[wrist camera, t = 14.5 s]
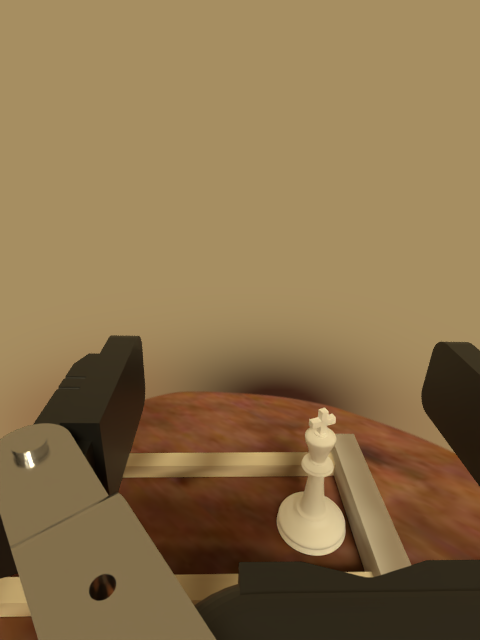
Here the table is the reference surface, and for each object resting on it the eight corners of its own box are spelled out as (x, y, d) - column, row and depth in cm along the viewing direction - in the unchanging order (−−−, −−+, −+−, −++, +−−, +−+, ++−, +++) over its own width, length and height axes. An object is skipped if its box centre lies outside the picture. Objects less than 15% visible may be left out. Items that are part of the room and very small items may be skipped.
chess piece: (265, 507, 30) (271, 397, 26) (321, 489, 32) (334, 383, 28) (297, 566, 26) (309, 444, 22) (359, 542, 27) (381, 425, 23)
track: (-27, 631, 22) (-38, 603, 21) (66, 458, 34) (61, 435, 33) (416, 623, 23) (424, 595, 22) (350, 456, 35) (353, 433, 34)
